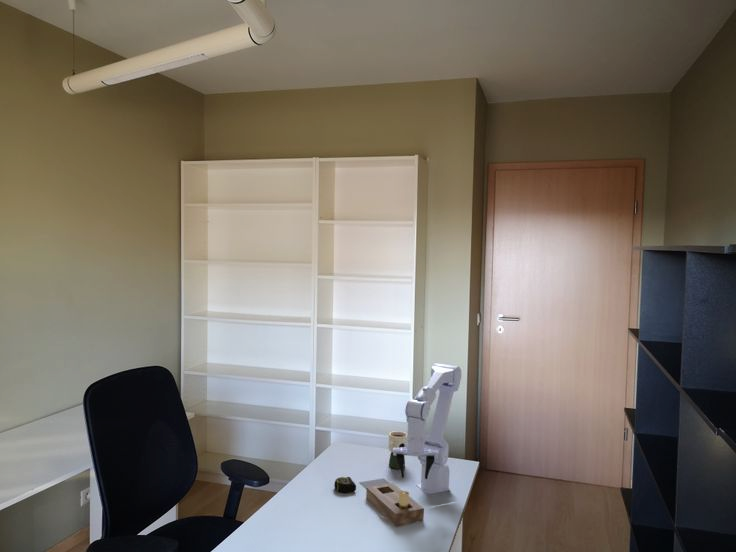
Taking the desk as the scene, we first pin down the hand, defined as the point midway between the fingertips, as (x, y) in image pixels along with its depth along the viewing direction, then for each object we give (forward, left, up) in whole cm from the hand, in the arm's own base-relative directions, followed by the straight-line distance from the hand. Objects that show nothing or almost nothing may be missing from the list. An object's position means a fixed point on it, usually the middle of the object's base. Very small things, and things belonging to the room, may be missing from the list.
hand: (414, 477), depth 190 cm
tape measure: (+16, -18, -10) cm, 26 cm away
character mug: (-10, -29, -10) cm, 33 cm away
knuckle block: (+8, +1, -9) cm, 12 cm away
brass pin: (+8, +7, -9) cm, 14 cm away
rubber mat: (+5, -16, -9) cm, 19 cm away
